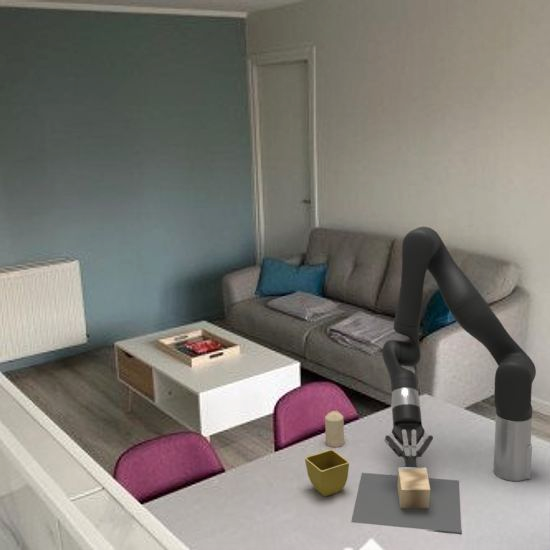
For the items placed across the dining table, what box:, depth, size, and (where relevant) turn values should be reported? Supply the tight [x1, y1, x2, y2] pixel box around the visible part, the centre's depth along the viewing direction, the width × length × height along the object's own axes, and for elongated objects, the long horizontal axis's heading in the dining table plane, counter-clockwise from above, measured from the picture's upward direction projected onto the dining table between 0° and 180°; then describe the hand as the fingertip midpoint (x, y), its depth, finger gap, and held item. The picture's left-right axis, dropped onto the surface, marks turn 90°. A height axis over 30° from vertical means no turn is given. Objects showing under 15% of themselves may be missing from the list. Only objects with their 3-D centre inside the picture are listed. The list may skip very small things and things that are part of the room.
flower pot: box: [304, 449, 350, 497], centre depth 183 cm, size 9×9×9 cm
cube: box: [397, 466, 430, 508], centre depth 175 cm, size 7×7×7 cm
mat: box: [350, 472, 462, 535], centre depth 177 cm, size 26×24×1 cm
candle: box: [324, 410, 345, 448], centre depth 209 cm, size 6×6×10 cm
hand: (411, 472), depth 177 cm, fingers closed
